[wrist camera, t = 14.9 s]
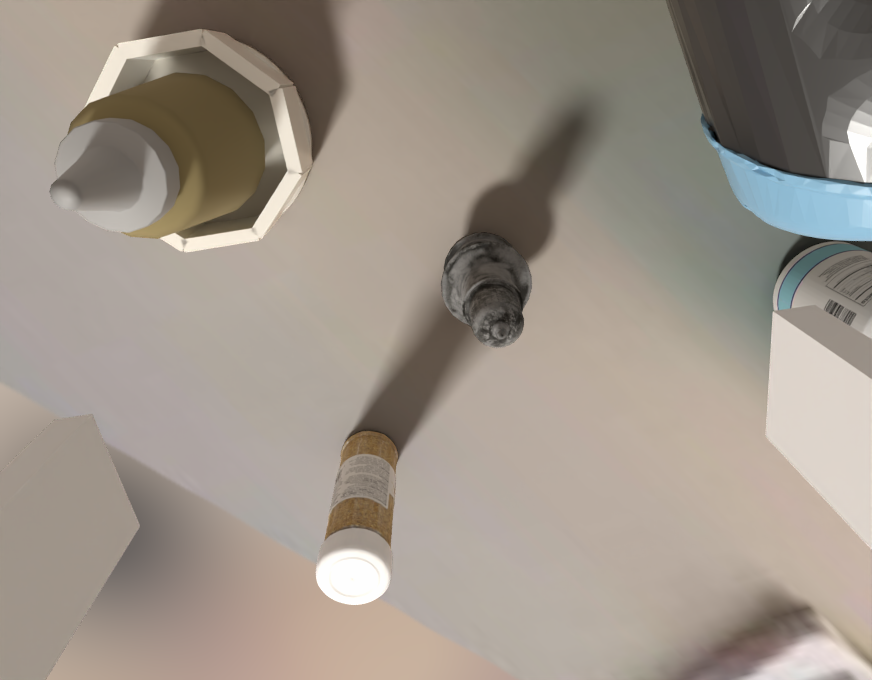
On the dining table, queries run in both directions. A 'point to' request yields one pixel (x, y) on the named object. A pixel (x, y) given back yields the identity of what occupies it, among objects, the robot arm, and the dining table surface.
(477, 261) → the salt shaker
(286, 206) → the crock
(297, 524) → the dining table surface
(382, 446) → the sprinkles bottle
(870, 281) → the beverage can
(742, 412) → the dining table surface
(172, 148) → the squeeze bottle
